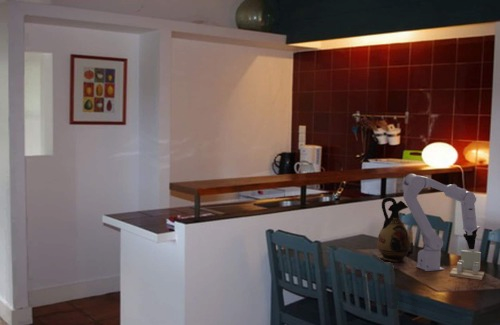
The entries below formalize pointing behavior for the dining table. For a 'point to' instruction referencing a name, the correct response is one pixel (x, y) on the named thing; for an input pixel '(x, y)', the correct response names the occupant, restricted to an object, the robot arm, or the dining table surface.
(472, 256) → the door
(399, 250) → the ceramic jug
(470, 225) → the robot arm
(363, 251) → the dining table surface
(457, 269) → the hinge bracket
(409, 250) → the ammunition clip
